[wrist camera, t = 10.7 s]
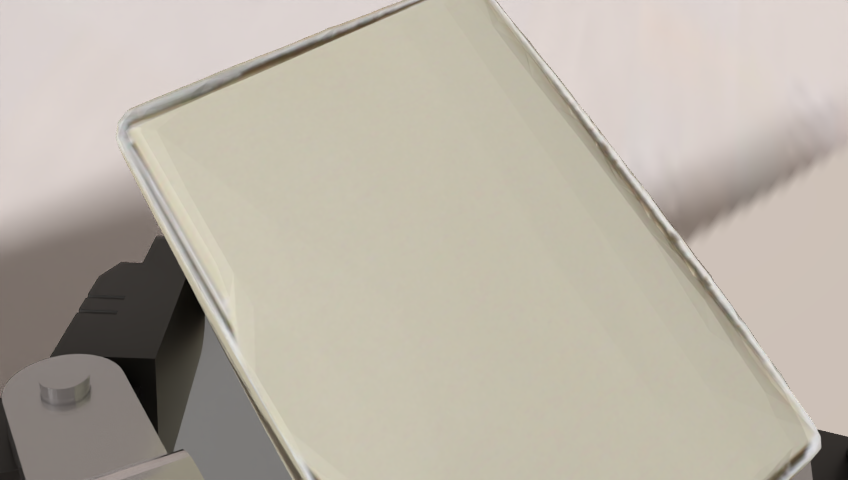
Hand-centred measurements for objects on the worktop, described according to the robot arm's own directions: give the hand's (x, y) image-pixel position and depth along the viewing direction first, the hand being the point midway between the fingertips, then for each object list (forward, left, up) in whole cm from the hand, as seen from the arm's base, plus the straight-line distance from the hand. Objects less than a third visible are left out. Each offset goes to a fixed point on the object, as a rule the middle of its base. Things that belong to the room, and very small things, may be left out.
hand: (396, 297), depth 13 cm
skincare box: (0, -2, -6) cm, 6 cm away
